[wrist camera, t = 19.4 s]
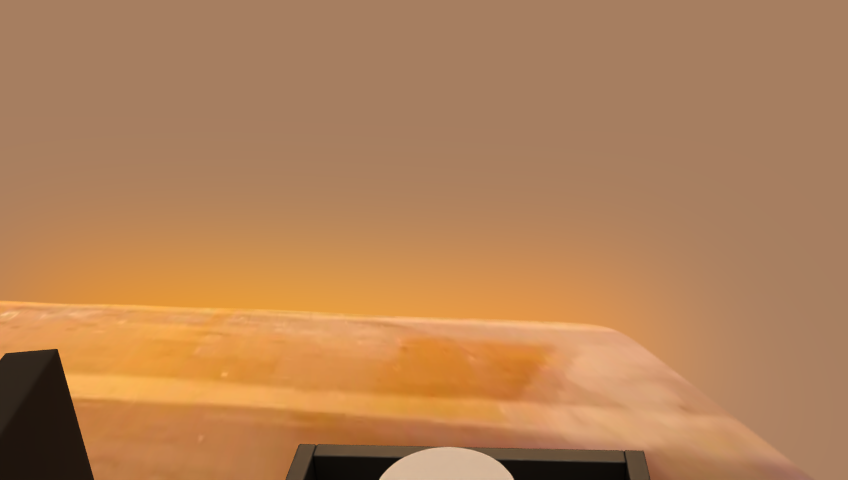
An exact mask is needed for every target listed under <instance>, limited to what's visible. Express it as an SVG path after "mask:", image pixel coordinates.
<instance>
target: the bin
mask: <svg viewBox="0 0 848 480" xmlns="http://www.w3.org/2000/svg"><path fill="white" fill-rule="evenodd" d="M431 448H440V447H424V446H375V445H327V444H318V445H317V446H316V445H315V444H299V446H298V449H297V451H296V454H295V456H294V459H293V462H292V464H291V467H290V469H289V472H288V475H287V477H286V480H379V479H380V478H381V476H382V475H383V474H384V472H385V471H386V470H387V469H388V468H389V467H391V466H392V465H393V464H394V463H396V462H397V461H399V460H400V459H402V458H404V457H406V456H408V455H411V454H413V453H416V452H419V451H422V450H426V449H431ZM456 448H464V449H470V450H474V451H477V452H480V453H483V454H485V455H487V456H490V457H491V458H493V459H495V460H496V461H498V462H500V463H501V464H502V465H503V466H504V467H505V468H506V469H507V470H508V471H509V473H510V474H511V475H512V477H513V479H514V480H650V476H649V472H648V467H647V463H646V459H645V454H644V451H629V450H625V451H618V450H569V449H521V448H472V447H456Z"/></svg>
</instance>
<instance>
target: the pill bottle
mask: <svg viewBox="0 0 848 480" xmlns="http://www.w3.org/2000/svg"><path fill="white" fill-rule="evenodd" d="M379 480H514V479H513V477H512V475H511V474H510V473H509V471H508V470H507V469H506V468H505V467H504V466H503V465H502V464H501V463H500V462H498V461H496V460H495V459H493V458H491V457H490V456H487V455H485V454H483V453H480V452H477V451H474V450H470V449H464V448H456V447H440V448H431V449H426V450H422V451H419V452H416V453H413V454H411V455H408V456H406V457H404V458H402V459H400V460H399V461H397V462H396V463H394V464H393V465H392V466H391V467H389V468H388V469H387V470H386V471H385V472H384V474H383V475H382V476H381V478H380V479H379Z"/></svg>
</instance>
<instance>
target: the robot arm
mask: <svg viewBox="0 0 848 480" xmlns="http://www.w3.org/2000/svg"><path fill="white" fill-rule="evenodd" d="M0 480H94V478H93V474H92V471H91V467H90V464H89V460H88V456H87V453H86V449H85V446H84V442H83V439H82V435H81V431H80V428H79V424H78V421H77V417H76V414H75V410H74V406H73V403H72V399H71V396H70V392H69V389H68V385H67V381H66V378H65V374H64V371H63V367H62V364H61V360H60V356H59V353H58V349H51V350H39V351H28V352H16V353H6V354H5V355H4V356H3V357H2V359H1V360H0Z"/></svg>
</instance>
